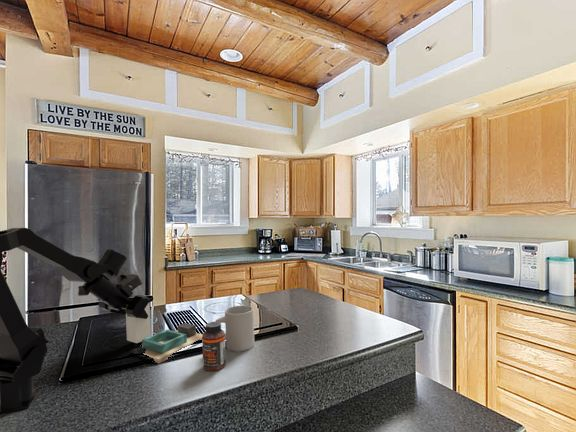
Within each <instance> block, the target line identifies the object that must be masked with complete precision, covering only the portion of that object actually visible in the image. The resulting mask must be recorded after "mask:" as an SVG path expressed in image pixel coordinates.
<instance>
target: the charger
mask: <svg viewBox="0 0 576 432" xmlns="http://www.w3.org/2000/svg"><path fill="white" fill-rule="evenodd" d="M150 303H151V302H149V303H148V305H147V306H146V308H145V311H146V313H147V314H148V318H147V319H142V318H135V317H129V316H127V314H126V315H125V323H126V326H125V327H126V341H128V342H131V343H135V344H138V343H142V340H143V339H145V338H148V337H150V336H152V331H151V330H152V329H151V328H152V327H151V309H150V305H151V304H150Z"/></svg>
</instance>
